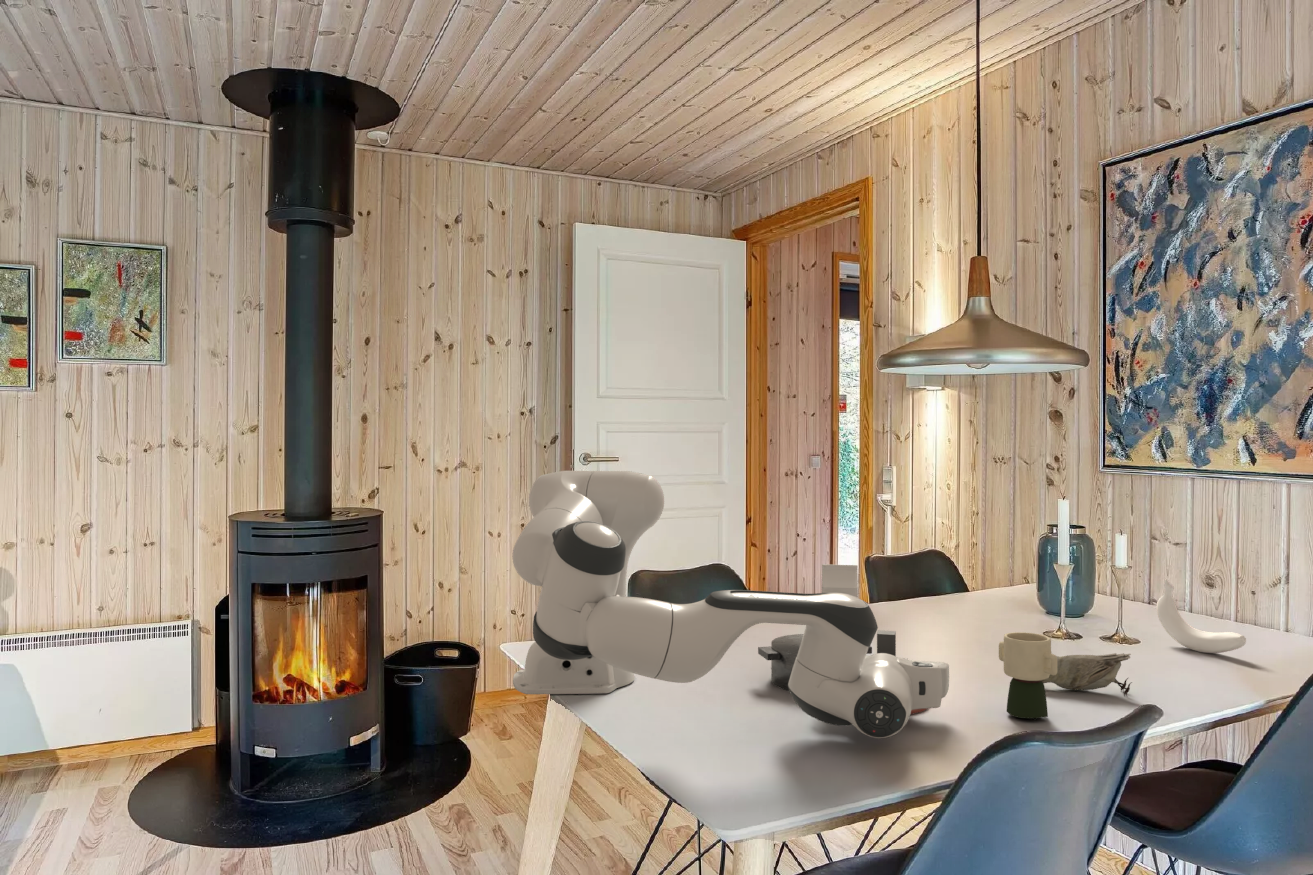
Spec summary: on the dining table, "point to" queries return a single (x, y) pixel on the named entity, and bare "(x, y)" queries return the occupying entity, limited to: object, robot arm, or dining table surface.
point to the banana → (1193, 629)
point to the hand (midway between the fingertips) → (886, 661)
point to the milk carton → (840, 579)
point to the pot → (784, 657)
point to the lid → (889, 648)
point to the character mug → (1027, 672)
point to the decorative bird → (1088, 671)
